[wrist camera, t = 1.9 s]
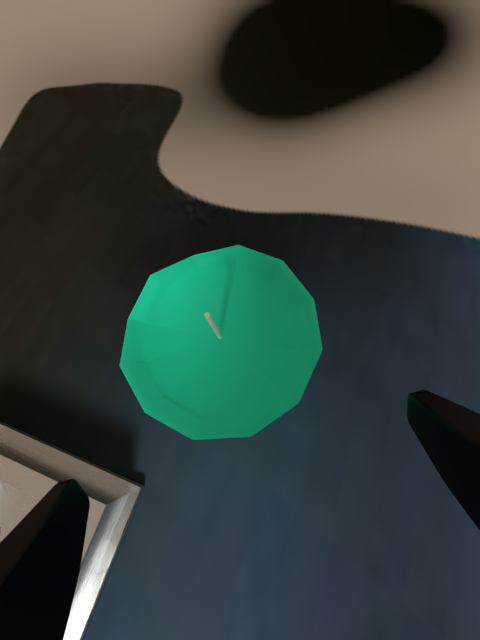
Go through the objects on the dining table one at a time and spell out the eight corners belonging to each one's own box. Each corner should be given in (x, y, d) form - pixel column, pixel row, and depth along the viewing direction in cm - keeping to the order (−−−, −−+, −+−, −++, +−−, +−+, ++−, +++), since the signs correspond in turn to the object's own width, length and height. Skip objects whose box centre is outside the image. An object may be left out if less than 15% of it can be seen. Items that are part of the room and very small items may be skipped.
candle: (301, 342, 19) (345, 226, 8) (286, 442, 17) (315, 478, 6) (210, 326, 20) (132, 202, 9) (186, 419, 18) (52, 414, 7)
